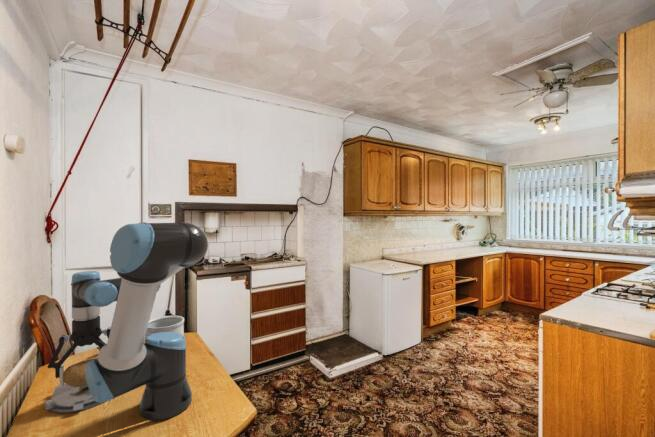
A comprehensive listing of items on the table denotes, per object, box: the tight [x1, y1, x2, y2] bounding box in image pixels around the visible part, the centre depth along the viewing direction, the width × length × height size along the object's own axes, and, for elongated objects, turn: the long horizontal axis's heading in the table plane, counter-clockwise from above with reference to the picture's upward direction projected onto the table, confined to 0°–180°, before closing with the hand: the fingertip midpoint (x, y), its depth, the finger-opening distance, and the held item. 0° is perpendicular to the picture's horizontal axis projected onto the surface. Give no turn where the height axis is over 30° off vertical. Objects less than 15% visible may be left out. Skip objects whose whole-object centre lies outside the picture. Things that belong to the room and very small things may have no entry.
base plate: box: [49, 401, 107, 415], centre depth 104 cm, size 19×19×1 cm
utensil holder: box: [144, 315, 185, 340], centre depth 127 cm, size 15×15×18 cm
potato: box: [62, 355, 98, 387], centre depth 103 cm, size 10×14×8 cm
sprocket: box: [44, 383, 96, 411], centre depth 104 cm, size 21×20×7 cm
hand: (86, 380), depth 103 cm, fingers closed on potato, 12 cm apart
